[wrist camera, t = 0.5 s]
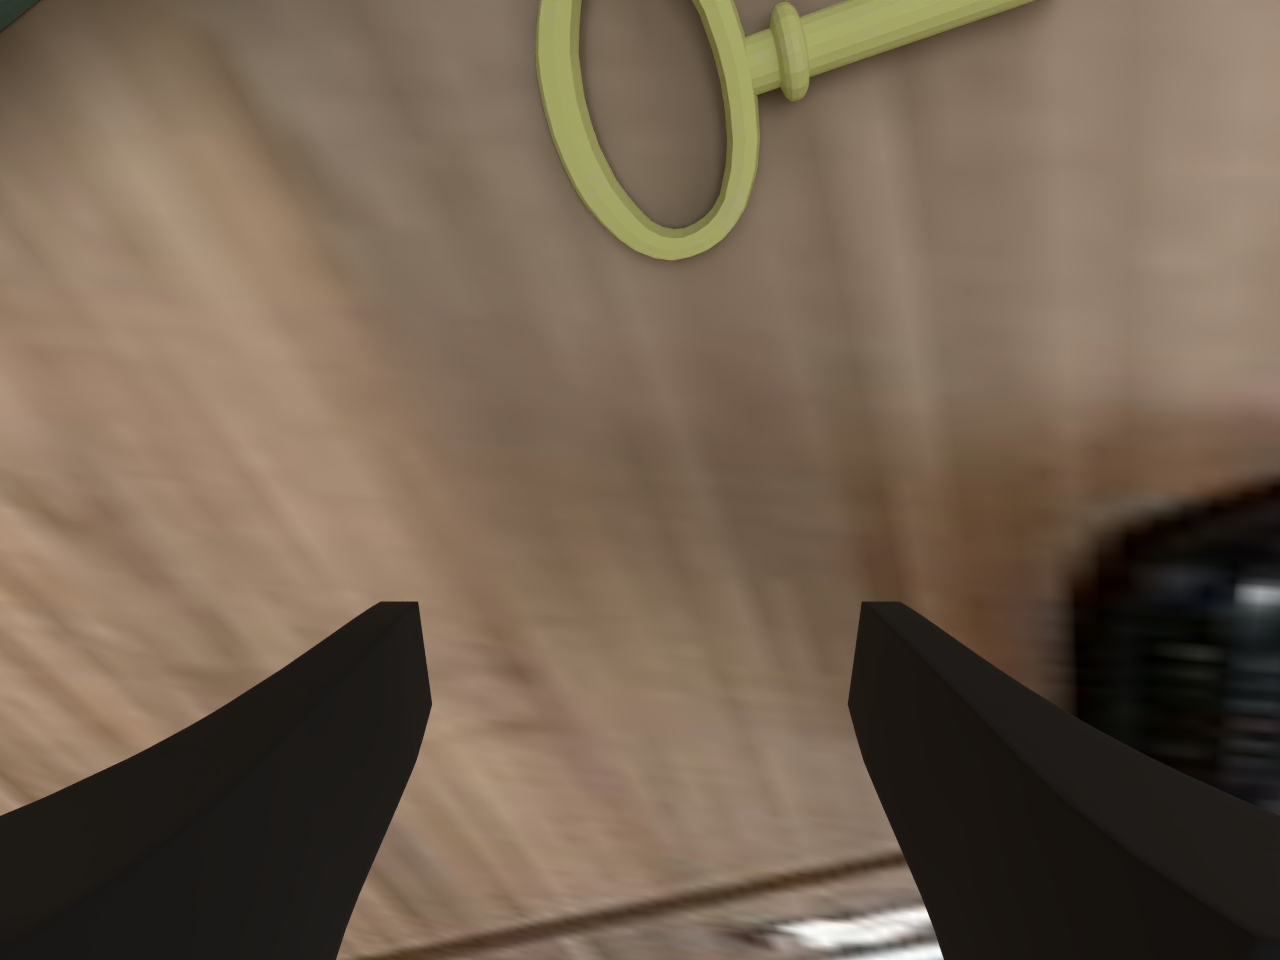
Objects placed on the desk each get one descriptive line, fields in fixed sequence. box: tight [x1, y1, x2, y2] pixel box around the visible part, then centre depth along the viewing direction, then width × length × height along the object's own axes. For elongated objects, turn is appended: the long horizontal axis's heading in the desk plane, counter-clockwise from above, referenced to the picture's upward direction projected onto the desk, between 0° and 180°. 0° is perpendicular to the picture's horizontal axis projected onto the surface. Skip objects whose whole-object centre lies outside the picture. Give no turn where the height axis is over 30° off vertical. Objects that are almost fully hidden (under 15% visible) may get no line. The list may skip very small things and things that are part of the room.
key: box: [535, 0, 1036, 260], centre depth 15 cm, size 7×12×2 cm, turn 126°
